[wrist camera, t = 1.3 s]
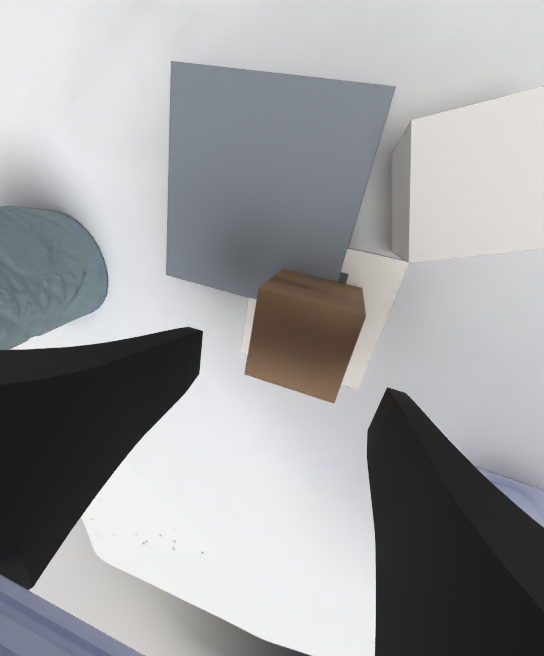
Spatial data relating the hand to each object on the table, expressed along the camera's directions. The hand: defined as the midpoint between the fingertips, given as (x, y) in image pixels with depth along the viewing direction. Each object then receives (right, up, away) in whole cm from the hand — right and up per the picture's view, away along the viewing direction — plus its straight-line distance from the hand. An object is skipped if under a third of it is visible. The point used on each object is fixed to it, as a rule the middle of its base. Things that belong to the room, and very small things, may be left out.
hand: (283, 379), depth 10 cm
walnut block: (+2, +3, +7) cm, 8 cm away
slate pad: (-1, +10, +6) cm, 12 cm away
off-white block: (+9, +9, +4) cm, 13 cm away
